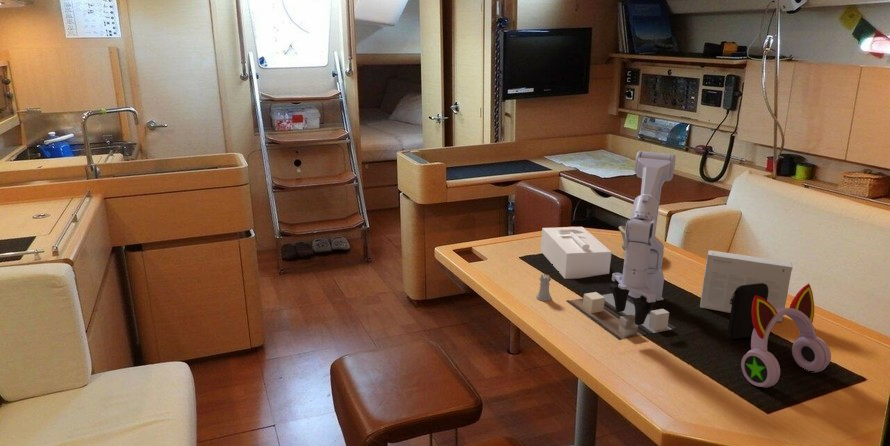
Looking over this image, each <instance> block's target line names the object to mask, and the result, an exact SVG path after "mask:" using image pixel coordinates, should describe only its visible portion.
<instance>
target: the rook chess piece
mask: <svg viewBox="0 0 890 446" xmlns="http://www.w3.org/2000/svg"><path fill="white" fill-rule="evenodd" d="M538 280H539V281H540V282H539V285H540V286H539V289H538V290H539V291H538V293H537V294H536V296H535V297H536V299H537V300H539V301H542V302H548V301H551V300H552V295H551V293H550V285H551V284H550V282H551V280H552V278H551V276H550V275H549V274H546V273H543V274H541V275H540V277H539V279H538Z"/></svg>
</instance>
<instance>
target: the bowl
mask: <svg viewBox="0 0 890 446" xmlns="http://www.w3.org/2000/svg"><path fill="white" fill-rule="evenodd" d="M625 229H626V225H620V226H618V230H619V232H620V234H621V236H622V237H621V238H622V243H621V248H622V250H623V251H624V252H625V250H626V249H625Z"/></svg>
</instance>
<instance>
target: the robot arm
mask: <svg viewBox="0 0 890 446" xmlns="http://www.w3.org/2000/svg"><path fill="white" fill-rule="evenodd" d="M676 160H677V158H676V155H675V153H666V152H665V153H663V152H655V151H654V152H653V151H643V150H638V151H637V153H636V156H635V161H634V172H635V175H636V177H637V178H639V179H641V186H640V195H637V196H636V197H635V199H634V200H633V204H632V210H631V214H630V218H629V219H627V221H626V224H625V226H626V229H625V249H626V250H625V251H624V259H623V266H622V267H623V269H622V273H620V272H613V273H612V276H611V281H612V282H613V283H610V284H609V288H610V290H611V294H612V293H613V297H614V301H615V307H616V311H615V312H617V313H618V312H621V311H624V310H625V307H626V301H628V300H627V298H629V297H631V298H632V301H633V302H634V304H633V305H634V306H635V324H636V325H640V324H644V321H645V319H646V317H647V315H648V314H649V311H651V309H652V308H653V307H654V306H655V304H656V303H657V302H658V301H659V302H660V301H664V297H663V296H662V295H663V289H664V283H665V277H664V276H665V275H664V272H663V270H662V267H663V266H662V265H663V261H664V260H663V259H664V254H665V253H664V250H665V245H664V243H663V242H662V240H660V239H659V238H658V237H657V236H656V232H657V224H658V218H659V208H660V200H661V194H662V187H663V185H664V183H665V182H670V181H672V179H673V177H674V174H675V173H674V172H675V166H676ZM628 296H629V297H628Z"/></svg>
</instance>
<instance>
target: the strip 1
mask: <svg viewBox="0 0 890 446" xmlns="http://www.w3.org/2000/svg"><path fill="white" fill-rule="evenodd" d="M583 298H584V297H582V298H577V299H571V300H570V299H569V301H571V302H572V303H573V304H575V305H576V306H578V307H579V308H580V309H582V310H583V311H585V312H586V313H587V314H589V315H590V316H591V317H593V318H594V319H596V320H597V321H598V322H600V323H601V324H602V325H604V326H605V327H607V328H608V329H609V330H611V331H612V332H614V333H615V334H616V335H618V336H619V337H620V338H622V339H621V340H626V339H631V338H635V337H641V336H642V334H641V333H640V332H638V329H639V326H638V325H636V324H635V315H633V314H631V315H626V316H623V315H620V316H621V317H620V319H619V318H618V317H616V316H615V315H613V314H612V313H610V312H609V311H607V310H606V309H604V311H601V312H596V313H590V312H589V311H587V310H586V309H584V308H583Z"/></svg>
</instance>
